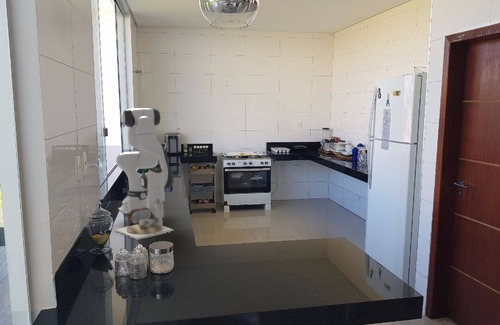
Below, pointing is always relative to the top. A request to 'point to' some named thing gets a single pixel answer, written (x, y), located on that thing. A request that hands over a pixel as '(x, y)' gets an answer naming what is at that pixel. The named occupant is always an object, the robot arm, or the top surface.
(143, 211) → the bread slice
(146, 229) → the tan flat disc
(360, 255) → the top surface
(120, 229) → the white flat square board
